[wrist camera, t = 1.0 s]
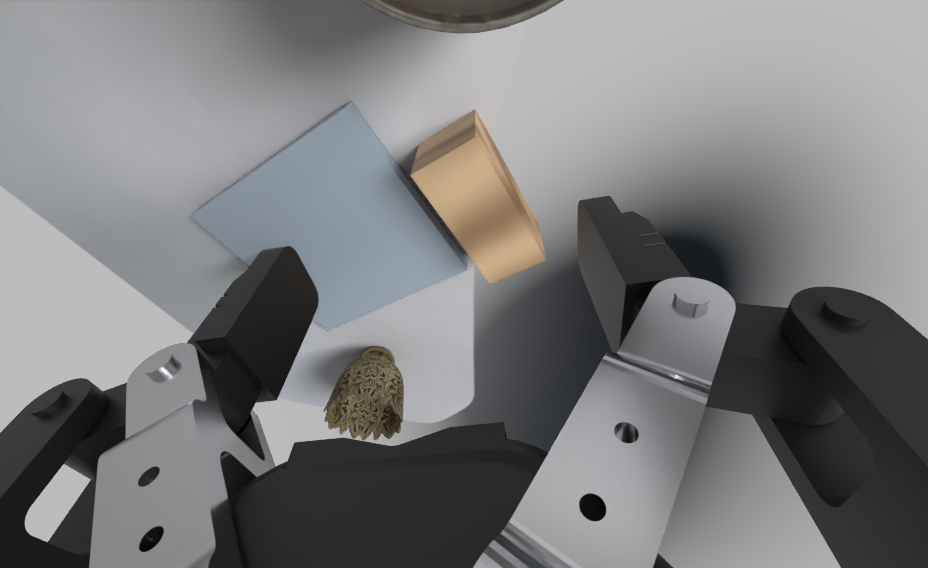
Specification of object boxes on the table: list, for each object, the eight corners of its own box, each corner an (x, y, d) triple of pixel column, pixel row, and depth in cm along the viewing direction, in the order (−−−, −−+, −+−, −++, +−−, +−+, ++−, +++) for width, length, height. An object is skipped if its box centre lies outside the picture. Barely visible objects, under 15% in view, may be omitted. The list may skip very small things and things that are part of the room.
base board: (351, 101, 25) (346, 106, 24) (467, 260, 33) (467, 269, 32) (197, 208, 30) (189, 216, 29) (330, 322, 39) (327, 331, 38)
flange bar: (419, 143, 27) (410, 175, 23) (475, 108, 25) (475, 137, 21) (488, 244, 32) (489, 284, 29) (537, 221, 31) (546, 260, 27)
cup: (347, 326, 39) (323, 394, 33) (418, 339, 40) (407, 408, 34) (342, 368, 44) (321, 435, 38) (406, 379, 45) (395, 446, 39)
